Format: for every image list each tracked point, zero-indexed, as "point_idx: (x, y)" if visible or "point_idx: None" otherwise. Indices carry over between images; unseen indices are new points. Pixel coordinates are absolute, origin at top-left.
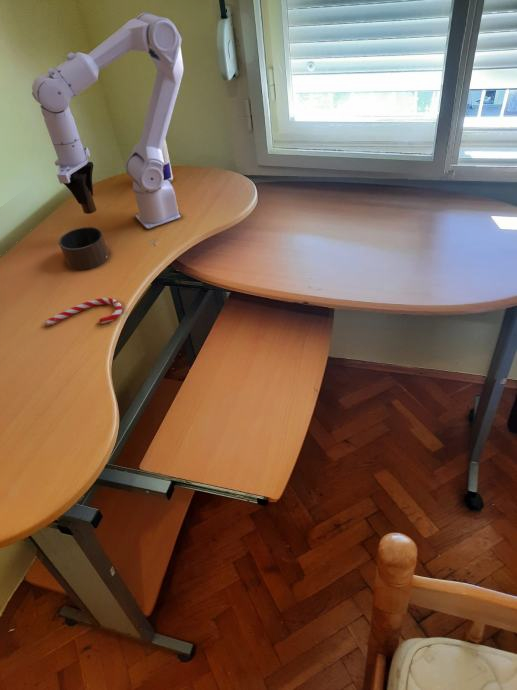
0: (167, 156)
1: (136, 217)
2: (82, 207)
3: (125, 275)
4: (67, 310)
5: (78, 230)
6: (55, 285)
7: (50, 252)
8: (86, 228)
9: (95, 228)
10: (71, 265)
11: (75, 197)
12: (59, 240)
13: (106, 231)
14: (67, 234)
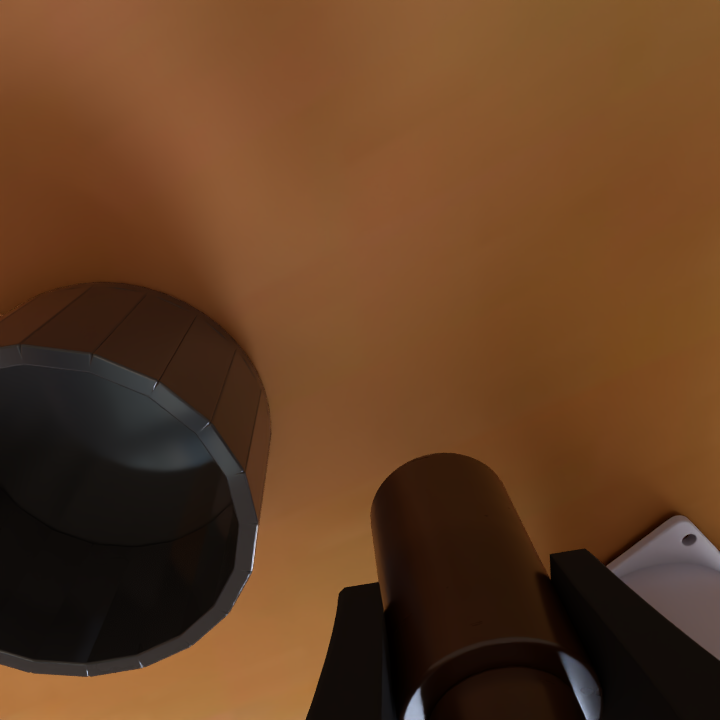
0: None
1: (661, 532)
2: (389, 525)
3: (25, 696)
4: None
5: (198, 430)
6: None
7: (120, 61)
8: (232, 498)
9: (239, 577)
10: None
11: (328, 662)
12: None
13: (491, 388)
14: (92, 370)
